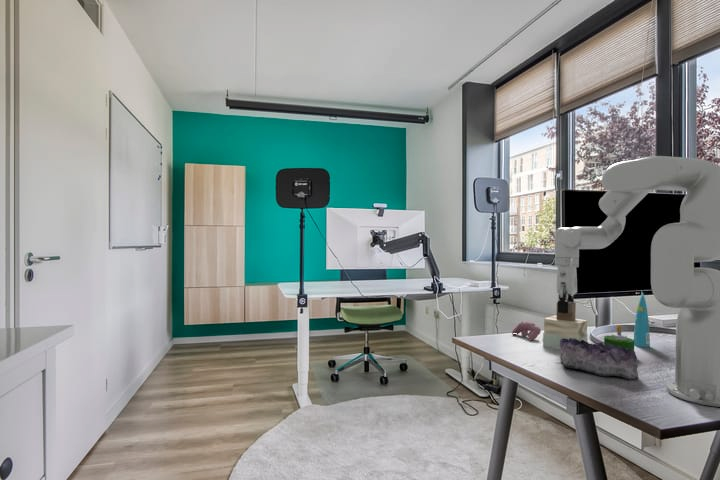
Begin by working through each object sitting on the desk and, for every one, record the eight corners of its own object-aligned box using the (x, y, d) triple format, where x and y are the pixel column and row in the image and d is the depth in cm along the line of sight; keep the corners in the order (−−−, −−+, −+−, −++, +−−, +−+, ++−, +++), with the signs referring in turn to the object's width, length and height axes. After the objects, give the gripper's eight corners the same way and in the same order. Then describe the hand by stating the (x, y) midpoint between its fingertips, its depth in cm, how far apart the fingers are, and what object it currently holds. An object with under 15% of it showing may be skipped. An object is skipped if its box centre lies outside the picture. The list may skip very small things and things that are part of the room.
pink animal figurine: (538, 344, 145) (544, 327, 146) (529, 340, 143) (536, 322, 144) (518, 338, 154) (524, 321, 155) (510, 333, 152) (516, 317, 154)
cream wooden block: (577, 338, 130) (577, 324, 130) (544, 332, 139) (544, 318, 139) (586, 334, 136) (587, 320, 136) (554, 328, 145) (554, 315, 145)
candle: (603, 350, 134) (604, 321, 134) (632, 354, 129) (633, 324, 129) (604, 356, 127) (604, 325, 126) (635, 360, 122) (635, 329, 122)
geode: (638, 372, 112) (641, 340, 111) (637, 390, 103) (640, 355, 101) (560, 356, 124) (562, 326, 123) (553, 370, 115) (554, 338, 114)
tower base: (581, 354, 130) (581, 339, 130) (542, 347, 138) (543, 333, 138) (587, 347, 138) (587, 333, 137) (550, 341, 145) (551, 328, 145)
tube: (632, 342, 144) (633, 290, 144) (648, 344, 142) (649, 291, 141) (634, 347, 138) (635, 293, 137) (651, 349, 135) (652, 294, 135)
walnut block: (572, 321, 134) (572, 304, 134) (556, 319, 137) (556, 302, 137) (575, 319, 138) (575, 302, 138) (560, 317, 141) (560, 300, 141)
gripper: (573, 264, 129) (572, 316, 129) (583, 261, 142) (582, 308, 142) (549, 263, 133) (548, 313, 133) (560, 260, 147) (559, 306, 147)
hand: (565, 310), depth 138 cm, fingers open, 8 cm apart
